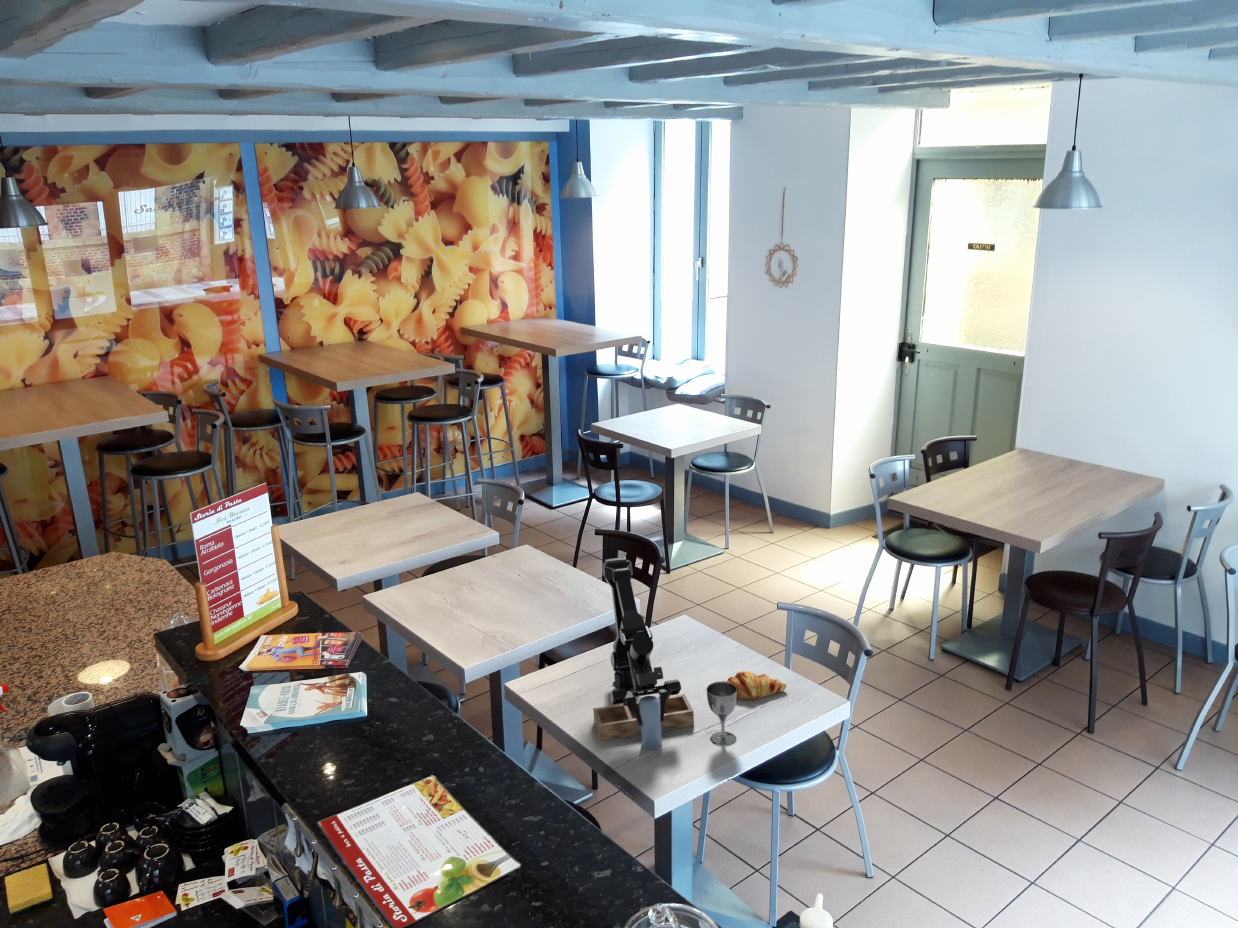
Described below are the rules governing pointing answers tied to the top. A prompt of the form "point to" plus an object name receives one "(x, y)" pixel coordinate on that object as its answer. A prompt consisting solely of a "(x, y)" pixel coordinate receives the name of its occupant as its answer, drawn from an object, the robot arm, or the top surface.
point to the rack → (624, 723)
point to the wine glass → (722, 709)
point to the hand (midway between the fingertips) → (651, 723)
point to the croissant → (755, 685)
